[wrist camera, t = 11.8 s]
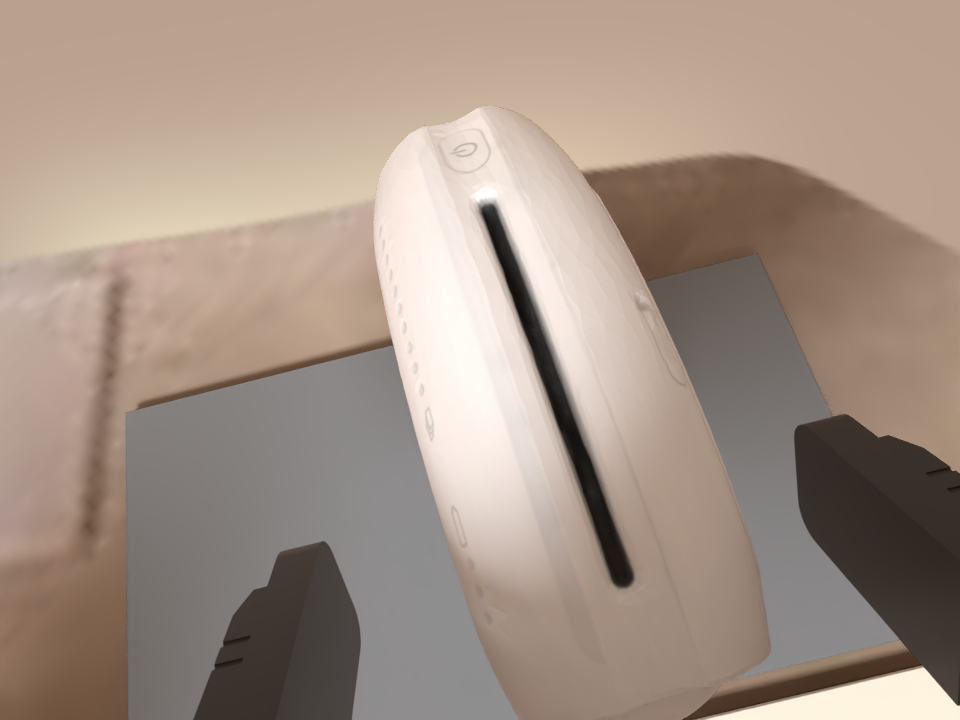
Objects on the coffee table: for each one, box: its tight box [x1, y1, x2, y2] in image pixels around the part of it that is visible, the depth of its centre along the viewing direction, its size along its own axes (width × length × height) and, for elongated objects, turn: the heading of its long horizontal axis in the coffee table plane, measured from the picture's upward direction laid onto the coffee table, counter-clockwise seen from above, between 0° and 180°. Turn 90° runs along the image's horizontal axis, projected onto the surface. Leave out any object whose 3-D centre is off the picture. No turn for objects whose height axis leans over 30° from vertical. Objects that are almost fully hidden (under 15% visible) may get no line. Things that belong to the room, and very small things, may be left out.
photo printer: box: [373, 106, 771, 720], centre depth 14 cm, size 10×4×12 cm, turn 17°
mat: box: [126, 254, 960, 720], centre depth 20 cm, size 22×14×1 cm, turn 103°
